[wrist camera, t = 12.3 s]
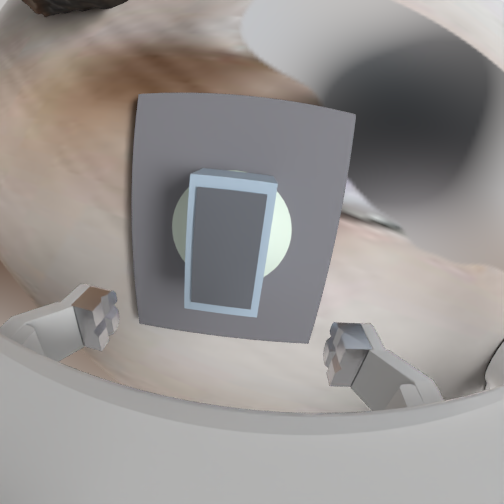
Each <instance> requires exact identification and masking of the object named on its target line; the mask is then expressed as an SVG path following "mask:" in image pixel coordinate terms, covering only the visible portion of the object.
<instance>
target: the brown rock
mask: <svg viewBox="0 0 504 504" xmlns="http://www.w3.org/2000/svg"><path fill="white" fill-rule="evenodd" d="M22 1H23V2H24V3H26V4H27V5H28V6H30V8H31V9H32V10H33V11H34V12H35V13H36V14H43V15H44V17H47V16H49V15H55V14H59V13H68V12H71V11H74V10H80V11H86V10H89V9H91V8H94V7H98V8H101V9H108V8H112V7H115V6H117V5H120V4H123V3H124V2H126V1H128V0H22Z"/></svg>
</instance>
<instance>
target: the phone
mask: <svg viewBox="0 0 504 504" xmlns="http://www.w3.org/2000/svg"><path fill="white" fill-rule="evenodd" d="M277 186H278V183H277V181H276V179H275V178H274V176H269V175H262V174H254V173H245V172H237V171H228V170H218V169H208V168H202V169H200V170H198V171H195V172H193V173H191V174H190V183H189V196H188V211H187V228H186V250H185V288H184V308H187V309H193V310H200V311H207V312H215V313H222V314H230V315H238V316H247V317H256V318H257V313H258V307H259V301H260V295H261V289H262V283H263V277H264V271H265V264H266V258H267V252H268V245H269V239H270V233H271V226H272V220H273V213H274V206H275V200H276V193H277Z"/></svg>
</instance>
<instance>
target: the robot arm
mask: <svg viewBox="0 0 504 504" xmlns="http://www.w3.org/2000/svg"><path fill="white" fill-rule="evenodd" d="M116 302H117V297H116V293H115V292H114V291H112V290H108V289H104V288H100V287H96V286H92V285H88V284H80V285H79V286H78V287H76V288H75V289H74V290H73V291H72V292H71V293H70V294H69V295H68V296H67V297H66V298H64V299H63V300H62V301H61V302H55V303H52V304H49V305H46V306H43V307H40V308H36V309H33V310H30V311H27V312H24V313H21V314H18V315H15V316H12V317H10V318H9V320H7V321H6V322H5V323H4V324H3V325H2V326H1V327H0V504H504V342H503V343H502V344H501V346H500V347H499V349H498V350H497V352H496V353H495V355H494V356H493V358H492V360H491V362H490V364H489V366H488V368H487V370H486V374H485V380H486V382H487V385H486V388H485V391H482V392H478V393H475V394H471V395H467V396H463V397H459V398H454V399H450V400H445V401H444V399H443V397H442V395H441V393H440V391H439V389H438V387H437V385H436V384H435V382H434V380H432V379H431V378H429V377H428V376H426V375H425V374H424V373H422V372H421V371H419V370H418V369H416V368H415V367H413V366H412V365H410V364H409V363H407V362H406V361H405V360H403V359H402V358H400V357H399V356H397V355H396V354H394V353H393V352H391V351H390V350H386V349H385V347H384V345H383V344H382V342H381V340H380V338H379V336H378V334H377V332H376V330H375V328H374V326H373V325H372V324H371V323H339V322H334V323H333V324H332V326H331V329H330V334H331V337H330V338H329V339H328V340H326V343H325V347H324V353H323V360H324V364H325V365H326V366H327V367H328V370H327V378H328V382H329V386H346V387H351V388H352V389H353V391H354V392H355V393H356V394H357V395H358V396H359V397H360V398H361V399H362V400H363V401H364V402H365V404H366V405H367V406H368V407H369V408H370V409H371V410H372V411H363V412H345V413H292V412H273V411H261V410H250V409H241V408H232V407H225V406H218V405H211V404H205V403H199V402H193V401H188V400H183V399H178V398H173V397H168V396H164V395H160V394H155V393H151V392H147V391H143V390H140V389H136V388H132V387H129V386H125V385H122V384H119V383H115V382H112V381H109V380H106V379H102V378H100V377H97V376H94V375H91V374H88V373H85V372H83V371H80V370H77V369H75V368H72V367H70V366H67V365H65V364H62V363H60V362H59V361H61V360H62V359H64V358H66V357H68V356H69V355H71V354H73V353H74V352H76V351H78V350H80V349H81V348H83V347H84V346H85V347H89V348H92V349H96V350H99V351H102V350H103V349H104V347H105V346H106V345H107V343H108V342H109V337H108V336H109V335H112V334H114V333H115V331H116V330H117V328H118V324H119V311H118V309H117V308H116V306H115V303H116Z"/></svg>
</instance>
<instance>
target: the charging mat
mask: <svg viewBox="0 0 504 504" xmlns="http://www.w3.org/2000/svg"><path fill="white" fill-rule="evenodd" d="M355 118H356V115H355V114H351V113H347V112H343V111H339V110H334V109H330V108H325V107H320V106H315V105H310V104H304V103H298V102H292V101H286V100H279V99H271V98H263V97H254V96H243V95H230V94H213V93H152V94H139V96H138V104H137V113H136V123H135V134H134V147H133V165H132V244H133V263H134V277H135V288H136V298H137V307H138V316H139V323H140V324H145V325H151V326H156V327H162V328H168V329H174V330H180V331H187V332H193V333H201V334H208V335H216V336H224V337H233V338H242V339H252V340H263V341H275V342H290V343H307V344H308V343H309V340H310V337H311V333H312V330H313V326H314V323H315V319H316V316H317V312H318V308H319V305H320V301H321V297H322V293H323V289H324V285H325V281H326V277H327V273H328V269H329V265H330V261H331V256H332V252H333V248H334V243H335V238H336V234H337V229H338V224H339V219H340V214H341V209H342V204H343V198H344V193H345V187H346V181H347V175H348V169H349V163H350V156H351V149H352V142H353V135H354V127H355ZM202 168H208V169H218V170H228V171H237V172H245V173H254V174H262V175H269V176H274V178H275V179H276V181H277V183H278V186H277V193H276V200H275V206H274V213H273V220H272V226H271V233H270V239H269V245H268V252H267V258H266V264H265V271H264V277H263V283H262V289H261V295H260V301H259V307H258V313H257V318H256V317H247V316H238V315H230V314H222V313H215V312H207V311H200V310H193V309H187V308H184V288H185V250H186V228H187V211H188V196H189V183H190V174H191V173H193V172H195V171H198V170H200V169H202Z"/></svg>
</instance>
